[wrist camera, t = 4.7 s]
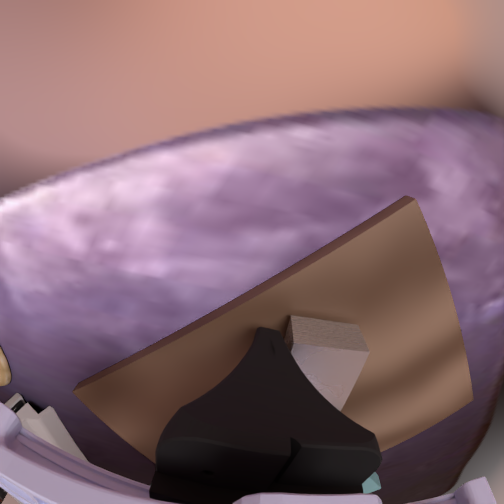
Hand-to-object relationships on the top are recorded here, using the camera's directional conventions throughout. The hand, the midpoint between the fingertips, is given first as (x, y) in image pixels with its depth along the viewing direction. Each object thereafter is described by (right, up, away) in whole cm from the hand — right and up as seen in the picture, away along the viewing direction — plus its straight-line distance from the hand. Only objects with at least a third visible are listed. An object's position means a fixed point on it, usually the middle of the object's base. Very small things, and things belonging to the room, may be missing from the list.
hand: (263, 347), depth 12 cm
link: (+1, -5, +2) cm, 5 cm away
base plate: (+1, -5, +4) cm, 7 cm away
